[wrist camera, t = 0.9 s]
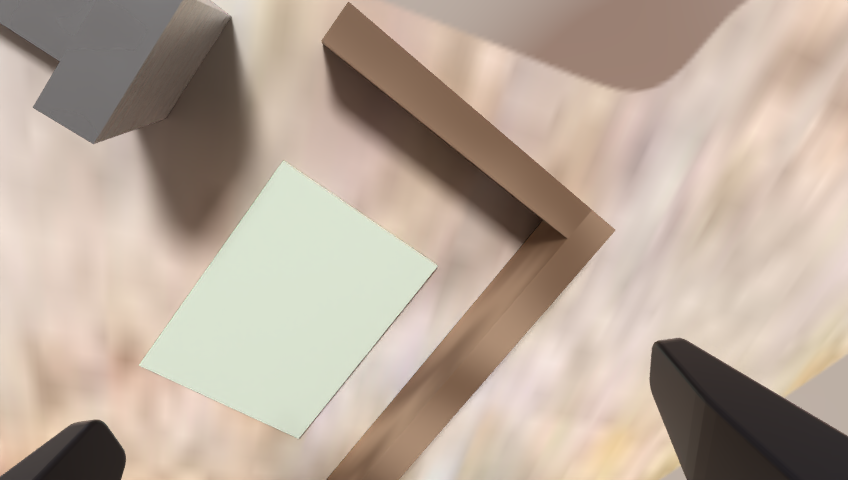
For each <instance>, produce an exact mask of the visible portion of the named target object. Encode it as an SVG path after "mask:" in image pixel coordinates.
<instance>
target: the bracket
mask: <svg viewBox="0 0 848 480" xmlns="http://www.w3.org/2000/svg"><path fill="white" fill-rule="evenodd" d="M230 18H231V16H230V15H229V14H228V13H226V12H225V11H224V10H222V9H221V8H220V7H219V6H217V5H216V4H215V3H213V2H212V1H211V0H0V23H1V24H2V25H4V26H5V27H7V28H8V29H10V30H12V31H13V32H15V33H16V34H18V35H19V36H21V37H22V38H24V39H26V40H27V41H29V42H30V43H32V44H33V45H35V46H36V47H38V48H40V49H41V50H43V51H44V52H46V53H47V54H49V55H50V56H52V57H54V58H55V59H57V60H58V61H60V62H59V64H58V65H57V67H56V69H55V70H54V72H53V74H52V76H51V77H50V79H49V81H48V82H47V84H46V86H45V88H44V89H43V91H42V93H41V94H40V96H39V98H38V99H37V101H36V103H35V105H34V106H33V108H34V109H36V110H38V111H39V112H41V113H43V114H44V115H46V116H48V117H49V118H51V119H53V120H54V121H56V122H58V123H59V124H61V125H62V126H64V127H66V128H67V129H69V130H71V131H72V132H74V133H76V134H77V135H79V136H81V137H82V138H84V139H86V140H87V141H89V142H91V143H92V144H95V143H98V142H101V141H104V140H107V139H109V138H112V137H115V136H118V135H121V134H124V133H127V132H130V131H132V130H135V129H138V128H141V127H144V126H147V125H150V124H152V123H155V122H158V121H161V120H164V119H166V117H167V116H168V114H169V112H170V111H171V109H172V108H173V106H174V105H175V103H176V102H177V100H178V99H179V97H180V95H181V94H182V92H183V91H184V89H185V88H186V86H187V85H188V83H189V81H190V80H191V78H192V77H193V75H194V74H195V72H196V71H197V69H198V67H199V66H200V64H201V63H202V61H203V60H204V58H205V57H206V55H207V53H208V52H209V50H210V49H211V47H212V46H213V44H214V43H215V41H216V39H217V38H218V36H219V35H220V33H221V32H222V30H223V29H224V27H225V26H226V24H227V22H228V21H229V19H230Z"/></svg>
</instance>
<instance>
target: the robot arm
mask: <svg viewBox="0 0 848 480" xmlns="http://www.w3.org/2000/svg"><path fill="white" fill-rule="evenodd" d="M650 387H651V391H652V395H653V397H654V400H655V402H656V405H657V407H658V410H659V412H660V415H661V417H662V420H663V422H664V425H665V427H666V429H667V432H668V434H669V437H670V439H671V442H672V444H673V447H674V449H675V452H676V454H677V457H678V459H679V462H680V464H681V467H682V469H683V472H684V474H685V476H686V478H687V480H848V436H847V435H845V434H844V433H842V432H840V431H838V430H837V429H835V428H833V427H832V426H830V425H828V424H827V423H825V422H823V421H822V420H820V419H818V418H817V417H815V416H813V415H812V414H810V413H808V412H807V411H805V410H803V409H802V408H800V407H798V406H796V405H795V404H793V403H791V402H790V401H788V400H786V399H785V398H783V397H781V396H780V395H778V394H776V393H775V392H773V391H771V390H770V389H768V388H766V387H764V386H763V385H761V384H759V383H758V382H756V381H754V380H753V379H751V378H749V377H748V376H746V375H744V374H743V373H741V372H739V371H737V370H736V369H734V368H732V367H731V366H729V365H727V364H726V363H724V362H722V361H721V360H719V359H717V358H716V357H714V356H712V355H711V354H709V353H707V352H705V351H704V350H702V349H700V348H699V347H697V346H695V345H694V344H692V343H690V342H689V341H687V340H685V339H682V338H674V339H667V340H659V341H656V342H655V343H654V344H653V347H652V354H651V367H650ZM125 463H126V455H125V451H124V449H123V448H122V446H121V445H120V443H119V442H118V440H117V439H116V438H115V436H114V435H113V433H112V432H111V431H110V429H109V428H108V426H107V425H106V424H105V423H104V422H103V421H101V420H89V421H82V422H77V423H73V424H71V425H70V426H68V427H67V428H65V429H64V430H63V431H61V432H60V433H59V434H57V435H56V436H55V437H53V438H52V439H50V440H49V441H48V442H46V443H45V444H44V445H42V446H41V447H40V448H38V449H37V450H36V451H34V452H33V453H32V454H30V455H29V456H27V457H26V458H25V459H23V460H22V461H21V462H19V463H18V464H17V465H15V466H14V467H13V468H11V469H10V470H9V471H7V472H6V473H5V474H3V475H2V476H0V480H121V478H122V474H123V471H124V468H125Z"/></svg>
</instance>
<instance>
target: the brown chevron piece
mask: <svg viewBox="0 0 848 480" xmlns="http://www.w3.org/2000/svg"><path fill="white" fill-rule="evenodd" d="M322 44H324V45H325V46H326V47H327V48H329V49H330V50H331V51H332V52H334V53H335V54H336V55H337V56H339V57H340V58H341V59H342V60H344V61H345V62H346V63H347V64H349V65H350V66H351V67H352V68H354V69H355V70H356V71H357V72H359V73H360V74H361V75H362V76H363V77H365V78H366V79H367V80H368V81H370V82H371V83H372V84H373V85H375V86H376V87H377V88H378V89H380V90H381V91H382V92H383V93H385V94H386V95H387V96H388V97H390V98H391V99H392V100H393V101H395V102H396V103H397V104H398V105H400V106H401V107H402V108H403V109H405V110H406V111H407V112H408V113H410V114H411V115H412V116H413V117H415V118H416V119H417V120H418V121H420V122H421V123H422V124H423V125H425V126H426V127H427V128H428V129H430V130H431V131H432V132H433V133H435V134H436V135H437V136H438V137H440V138H441V139H442V140H443V141H445V142H446V143H447V144H448V145H450V146H451V147H452V148H453V149H455V150H456V151H457V152H458V153H460V154H461V155H462V156H463V157H465V158H466V159H467V160H468V161H470V162H471V163H472V164H473V165H475V166H476V167H477V168H478V169H480V170H481V171H482V172H483V173H485V174H486V175H487V176H488V177H490V178H491V179H492V180H493V181H495V182H496V183H497V184H498V185H500V186H501V187H502V188H503V189H505V190H506V191H507V192H508V193H510V194H511V195H512V196H513V197H515V198H516V199H517V200H518V201H520V202H521V203H522V204H523V205H525V206H526V207H527V208H528V209H530V210H531V211H532V212H533V213H534V214H536V215H537V216H538V217H539V218H541V219H542V220H543V221H542V222H541V223H540V225H539V226H538V227H537V228H536V229H535V231H534V232H533V233H532V234H531V235H530V237H529V238H528V239H527V240H526V241H525V243H524V244H523V245H522V246H521V247H520V249H519V250H518V251H517V252H516V253H515V255H514V256H513V257H512V258H511V259H510V261H509V262H508V263H507V264H506V265H505V267H504V268H503V269H502V270H501V271H500V272H499V274H498V275H497V276H496V277H495V278H494V280H493V281H492V282H491V283H490V284H489V286H488V287H487V288H486V289H485V290H484V292H483V293H482V294H481V295H480V296H479V298H478V299H477V300H476V301H475V302H474V304H473V305H472V306H471V307H470V308H469V310H468V311H467V312H466V313H465V314H464V316H463V317H462V318H461V319H460V320H459V322H458V323H457V324H456V325H455V326H454V328H453V329H452V330H451V331H450V332H449V334H448V335H447V336H446V337H445V338H444V340H443V341H442V342H441V343H440V344H439V346H438V347H437V348H436V349H435V350H434V351H433V353H432V354H431V355H430V356H429V357H428V359H427V360H426V361H425V362H424V363H423V365H422V366H421V367H420V368H419V369H418V371H417V372H416V373H415V374H414V375H413V377H412V378H411V379H410V380H409V381H408V383H407V384H406V385H405V386H404V387H403V389H402V390H401V391H400V392H399V393H398V395H397V396H396V397H395V398H394V399H393V401H392V402H391V403H390V404H389V405H388V407H387V408H386V409H385V410H384V411H383V413H382V414H381V415H380V416H379V417H378V419H377V420H376V421H375V422H374V423H373V425H372V426H371V427H370V428H369V429H368V430H367V432H366V433H365V434H364V435H363V436H362V438H361V439H360V440H359V441H358V442H357V444H356V445H355V446H354V447H353V448H352V450H351V451H350V452H349V453H348V454H347V456H346V457H345V458H344V459H343V460H342V462H341V463H340V464H339V465H338V466H337V468H336V469H335V470H334V471H333V472H332V474H331V475H330V476H329V477H328V478H327V480H398V479H399V478H400V477H401V476H402V475H403V474H404V473H405V471H406V470H407V469H408V468H409V467H410V466H411V465H412V463H413V462H414V461H415V460H416V459H417V458H418V457H419V455H420V454H421V453H422V452H423V451H424V450H425V448H426V447H427V446H428V445H429V444H430V443H431V442H432V440H433V439H434V438H435V437H436V436H437V435H438V434H439V432H440V431H441V430H442V429H443V428H444V427H445V425H446V424H447V423H448V422H449V421H450V420H451V419H452V417H453V416H454V415H455V414H456V413H457V412H458V411H459V409H460V408H461V407H462V406H463V405H464V404H465V403H466V401H467V400H468V399H469V398H470V397H471V396H472V394H473V393H474V392H475V391H476V390H477V389H478V388H479V386H480V385H481V384H482V383H483V382H484V381H485V380H486V378H487V377H488V376H489V375H490V374H491V373H492V372H493V370H494V369H495V368H496V367H497V366H498V365H499V363H500V362H501V361H502V360H503V359H504V358H505V357H506V355H507V354H508V353H509V352H510V351H511V350H512V349H513V347H514V346H515V345H516V344H517V343H518V342H519V340H520V339H521V338H522V337H523V336H524V335H525V334H526V332H527V331H528V330H529V329H530V328H531V327H532V326H533V324H534V323H535V322H536V321H537V320H538V319H539V318H540V316H541V315H542V314H543V313H544V312H545V311H546V309H547V308H548V307H549V306H550V305H551V304H552V303H553V301H554V300H555V299H556V298H557V297H558V296H559V295H560V293H561V292H562V291H563V290H564V289H565V288H566V286H567V285H568V284H569V283H570V282H571V281H572V280H573V278H574V277H575V276H576V275H577V274H578V273H579V272H580V270H581V269H582V268H583V267H584V266H585V265H586V264H587V262H588V261H589V260H590V259H591V258H592V257H593V255H594V254H595V253H596V252H597V251H598V250H599V249H600V247H601V246H602V245H603V244H604V243H605V242H606V241H607V239H608V238H609V237H610V236H611V235H612V234H613V232H614V231H615V229H614V228H613V227H611V226H610V225H609V224H608V223H607V222H605V221H604V220H603V219H602V218H601V217H600V216H598V215H597V214H596V213H595V212H594V211H593V210H591V209H590V208H589V207H588V206H587V205H586V204H584V203H583V202H582V201H581V200H580V199H579V198H577V197H576V196H575V195H574V194H573V193H572V192H570V191H569V190H568V189H567V188H566V187H565V186H563V185H562V184H561V183H560V182H559V181H558V180H556V179H555V178H554V177H553V176H552V175H551V174H549V173H548V172H547V171H546V170H545V169H544V168H542V167H541V166H540V165H539V164H538V163H536V162H535V161H534V160H533V159H532V158H531V157H529V156H528V155H527V154H526V153H525V152H524V151H522V150H521V149H520V148H519V147H518V146H517V145H515V144H514V143H513V142H512V141H511V140H510V139H508V138H507V137H506V136H505V135H504V134H503V133H501V132H500V131H499V130H498V129H497V128H496V127H494V126H493V125H492V124H491V123H490V122H489V121H487V120H486V119H485V118H484V117H483V116H482V115H480V114H479V113H478V112H477V111H476V110H475V109H473V108H472V107H471V106H470V105H469V104H467V103H466V102H465V101H464V100H463V99H462V98H460V97H459V96H458V95H457V94H456V93H455V92H453V91H452V90H451V89H450V88H449V87H448V86H446V85H445V84H444V83H443V82H442V81H441V80H439V79H438V78H437V77H436V76H435V75H434V74H432V73H431V72H430V71H429V70H428V69H427V68H425V67H424V66H423V65H422V64H421V63H420V62H418V61H417V60H416V59H415V58H414V57H413V56H411V55H410V54H409V53H408V52H407V51H406V50H404V49H403V48H402V47H401V46H400V45H398V44H397V43H396V42H395V41H394V40H393V39H391V38H390V37H389V36H388V35H387V34H386V33H384V32H383V31H382V30H381V29H380V28H379V27H377V26H376V25H375V24H374V23H373V22H372V21H370V20H369V19H368V18H367V17H366V16H365V15H363V14H362V13H361V12H360V11H359V10H358V9H356V8H355V7H354V6H353V5H352V4H351V3H349V2H348V3H347V4H346V6H345V7H344V9H343V10H342V12H341V13H340V15H339V16H338V18H337V19H336V20H335V22H334V23H333V25H332V26H331V28H330V29H329V31H328V32H327V34H326V35H325V36H324V38H323V39H322Z"/></svg>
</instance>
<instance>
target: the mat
mask: <svg viewBox="0 0 848 480" xmlns="http://www.w3.org/2000/svg"><path fill="white" fill-rule="evenodd" d="M436 268H437V264H435V263H434V262H433V261H431V260H430V259H428V258H427V257H425V256H424V255H422V254H421V253H419V252H418V251H416V250H415V249H413V248H412V247H411V246H409V245H408V244H406V243H405V242H403V241H402V240H400V239H399V238H397V237H396V236H394V235H393V234H391V233H390V232H388V231H387V230H386V229H384V228H383V227H381V226H380V225H378V224H377V223H375V222H374V221H372V220H371V219H369V218H368V217H366V216H365V215H364V214H362V213H361V212H359V211H358V210H356V209H355V208H353V207H352V206H350V205H349V204H347V203H346V202H344V201H343V200H341V199H340V198H339V197H337V196H336V195H334V194H333V193H331V192H330V191H328V190H327V189H325V188H324V187H322V186H321V185H319V184H318V183H317V182H315V181H314V180H312V179H311V178H309V177H308V176H306V175H305V174H303V173H302V172H300V171H299V170H297V169H296V168H294V167H293V166H292V165H290V164H289V163H287V162H286V161H284V160H283V161H282V163H281V164H280V166H279V167H278V168H277V170H276V171H275V173H274V174H273V176H272V177H271V178H270V180H269V181H268V183H267V184H266V186H265V187H264V188H263V190H262V191H261V193H260V194H259V195H258V197H257V198H256V200H255V201H254V203H253V204H252V205H251V207H250V208H249V210H248V211H247V212H246V214H245V215H244V217H243V218H242V220H241V221H240V222H239V224H238V225H237V227H236V228H235V229H234V231H233V232H232V234H231V235H230V237H229V238H228V239H227V241H226V242H225V244H224V245H223V247H222V248H221V249H220V251H219V252H218V254H217V255H216V256H215V258H214V259H213V261H212V262H211V264H210V265H209V266H208V268H207V269H206V271H205V272H204V273H203V275H202V276H201V278H200V279H199V281H198V282H197V283H196V285H195V286H194V288H193V289H192V290H191V292H190V293H189V295H188V296H187V298H186V299H185V300H184V302H183V303H182V305H181V306H180V308H179V309H178V310H177V312H176V313H175V315H174V316H173V317H172V319H171V320H170V322H169V323H168V325H167V326H166V327H165V329H164V330H163V332H162V333H161V334H160V336H159V337H158V339H157V340H156V342H155V343H154V344H153V346H152V347H151V349H150V350H149V351H148V353H147V354H146V356H145V357H144V359H143V360H142V361H141V363H140V364H139V366H141V367H143V368H145V369H148V370H150V371H152V372H154V373H156V374H158V375H161V376H163V377H165V378H167V379H169V380H172V381H174V382H176V383H178V384H180V385H182V386H185V387H187V388H189V389H191V390H193V391H195V392H198V393H200V394H202V395H204V396H206V397H209V398H211V399H213V400H215V401H217V402H219V403H222V404H224V405H226V406H228V407H230V408H232V409H235V410H237V411H239V412H241V413H243V414H246V415H248V416H250V417H252V418H254V419H256V420H259V421H261V422H263V423H265V424H267V425H269V426H272V427H274V428H276V429H278V430H280V431H283V432H285V433H287V434H289V435H291V436H293V437H296V438H298V439H299V438H300V436H301V435H302V434H303V433H304V431H305V430H306V429H307V428H308V427H309V425H310V424H311V423H312V422H313V420H314V419H315V418H316V417H317V415H318V414H319V413H320V412H321V410H322V409H323V408H324V407H325V405H326V404H327V403H328V402H329V400H330V399H331V398H332V397H333V395H334V394H335V393H336V392H337V391H338V389H339V388H340V387H341V386H342V384H343V383H344V382H345V381H346V379H347V378H348V377H349V376H350V374H351V373H352V372H353V371H354V369H355V368H356V367H357V366H358V364H359V363H360V362H361V361H362V360H363V358H364V357H365V356H366V355H367V353H368V352H369V351H370V350H371V348H372V347H373V346H374V345H375V343H376V342H377V341H378V340H379V338H380V337H381V336H382V335H383V333H384V332H385V331H386V330H387V328H388V327H389V326H390V325H391V324H392V322H393V321H394V320H395V319H396V317H397V316H398V315H399V314H400V312H401V311H402V310H403V309H404V307H405V306H406V305H407V304H408V302H409V301H410V300H411V299H412V297H413V296H414V295H415V294H416V293H417V291H418V290H419V289H420V288H421V286H422V285H423V284H424V283H425V281H426V280H427V279H428V278H429V276H430V275H431V274H432V273H433V271H434V270H435V269H436Z"/></svg>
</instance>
